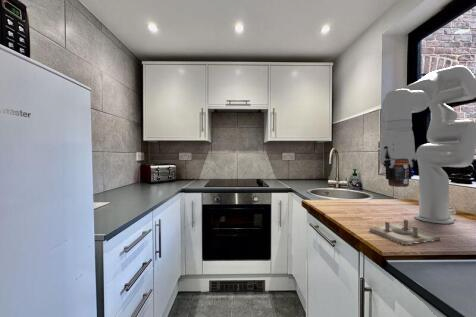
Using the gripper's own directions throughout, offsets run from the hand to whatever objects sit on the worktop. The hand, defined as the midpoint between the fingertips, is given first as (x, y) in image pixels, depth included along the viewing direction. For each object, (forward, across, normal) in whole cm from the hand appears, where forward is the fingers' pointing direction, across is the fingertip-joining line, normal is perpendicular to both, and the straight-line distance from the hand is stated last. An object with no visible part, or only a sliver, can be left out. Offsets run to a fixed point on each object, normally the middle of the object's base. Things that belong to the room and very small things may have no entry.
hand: (398, 178), depth 83 cm
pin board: (+19, 0, +1) cm, 19 cm away
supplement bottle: (+3, 0, 0) cm, 3 cm away
